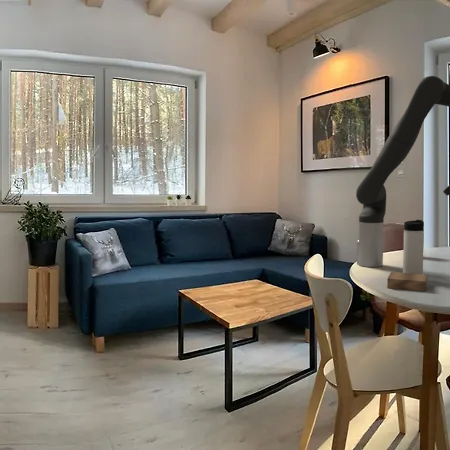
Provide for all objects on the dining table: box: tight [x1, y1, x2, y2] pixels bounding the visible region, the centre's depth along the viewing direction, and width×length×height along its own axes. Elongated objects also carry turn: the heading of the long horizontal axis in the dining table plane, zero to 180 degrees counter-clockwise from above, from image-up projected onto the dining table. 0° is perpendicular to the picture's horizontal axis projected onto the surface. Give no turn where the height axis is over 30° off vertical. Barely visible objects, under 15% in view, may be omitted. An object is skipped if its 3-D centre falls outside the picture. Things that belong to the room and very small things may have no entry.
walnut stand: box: [386, 271, 428, 292], centre depth 146 cm, size 11×11×3 cm
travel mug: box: [402, 219, 425, 274], centre depth 155 cm, size 6×7×20 cm
